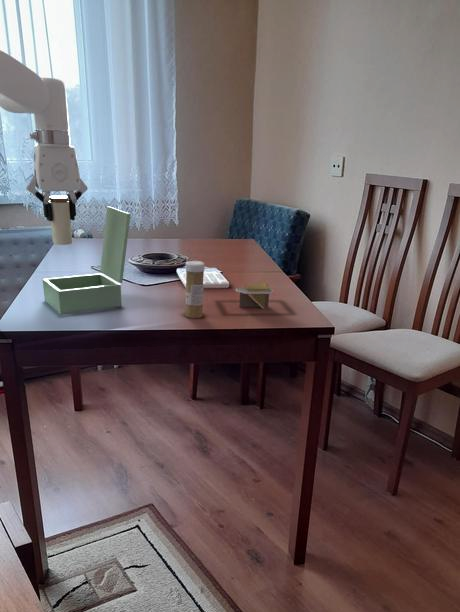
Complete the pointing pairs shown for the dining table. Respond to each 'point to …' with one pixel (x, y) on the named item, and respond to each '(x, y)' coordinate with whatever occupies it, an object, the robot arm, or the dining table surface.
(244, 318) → the dining table surface
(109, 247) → the chest lid
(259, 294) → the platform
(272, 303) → the dining table surface
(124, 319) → the dining table surface
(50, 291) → the chest
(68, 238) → the jar
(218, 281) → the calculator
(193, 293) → the sprinkles bottle
